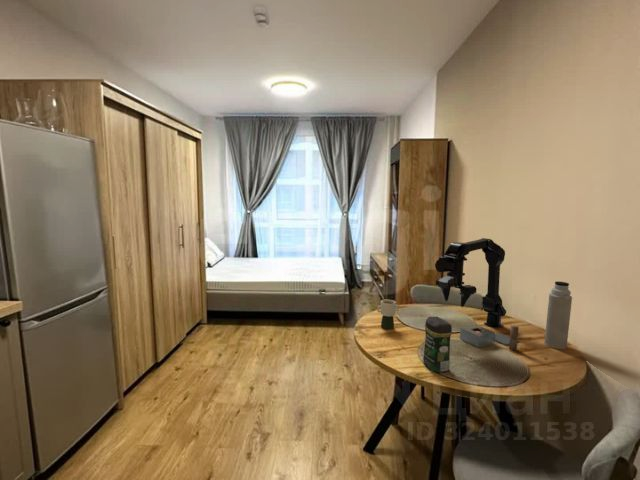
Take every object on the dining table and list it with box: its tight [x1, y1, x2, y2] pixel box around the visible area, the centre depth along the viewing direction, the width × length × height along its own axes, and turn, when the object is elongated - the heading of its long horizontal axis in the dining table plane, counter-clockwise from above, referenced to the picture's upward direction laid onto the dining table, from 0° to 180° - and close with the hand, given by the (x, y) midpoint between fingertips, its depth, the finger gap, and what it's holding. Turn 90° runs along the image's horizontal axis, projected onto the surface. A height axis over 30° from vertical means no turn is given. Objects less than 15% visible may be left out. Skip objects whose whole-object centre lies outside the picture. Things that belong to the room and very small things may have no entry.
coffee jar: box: [422, 315, 453, 373], centre depth 125 cm, size 10×8×19 cm
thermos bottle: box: [544, 281, 573, 350], centre depth 145 cm, size 8×8×28 cm
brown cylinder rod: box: [508, 324, 520, 352], centre depth 141 cm, size 3×3×10 cm
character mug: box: [377, 299, 400, 330], centre depth 163 cm, size 11×7×13 cm, turn 102°
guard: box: [459, 324, 496, 348], centre depth 149 cm, size 10×10×5 cm
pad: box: [495, 333, 520, 347], centre depth 151 cm, size 9×9×1 cm
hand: (454, 303), depth 155 cm, fingers open, 9 cm apart
